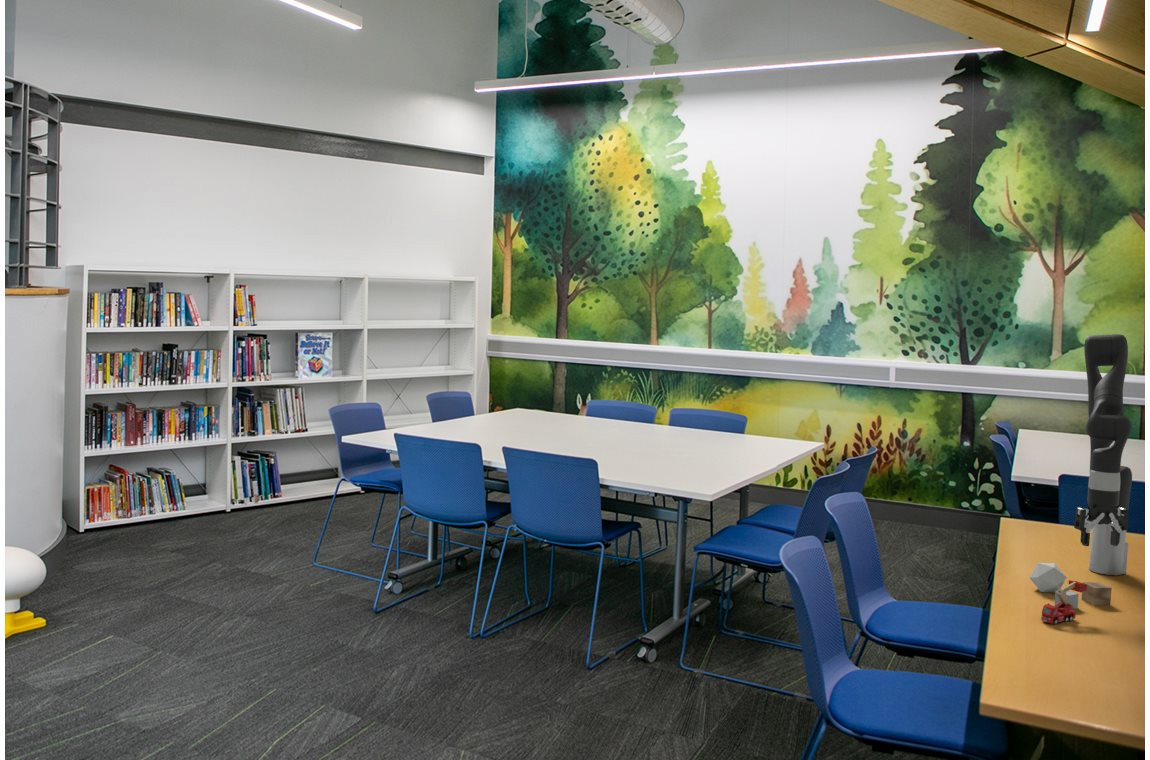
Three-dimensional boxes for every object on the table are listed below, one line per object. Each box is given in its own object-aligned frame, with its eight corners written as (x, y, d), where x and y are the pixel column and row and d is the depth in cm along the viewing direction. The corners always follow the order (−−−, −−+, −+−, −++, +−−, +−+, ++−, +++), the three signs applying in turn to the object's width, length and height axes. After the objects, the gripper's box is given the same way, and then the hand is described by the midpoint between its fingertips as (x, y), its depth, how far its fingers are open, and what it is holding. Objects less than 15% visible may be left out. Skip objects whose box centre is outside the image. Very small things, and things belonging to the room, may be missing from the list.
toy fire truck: (1039, 621, 243) (1041, 584, 242) (1073, 614, 249) (1076, 578, 248) (1051, 625, 240) (1053, 588, 239) (1085, 618, 246) (1088, 582, 245)
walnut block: (1097, 599, 262) (1099, 582, 262) (1110, 605, 257) (1111, 587, 257) (1081, 599, 262) (1082, 582, 261) (1093, 605, 257) (1094, 587, 256)
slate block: (1063, 603, 258) (1064, 589, 258) (1077, 608, 254) (1078, 593, 254) (1054, 605, 256) (1055, 591, 256) (1068, 610, 252) (1069, 595, 252)
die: (1062, 599, 263) (1076, 570, 266) (1034, 582, 264) (1048, 553, 267) (1047, 601, 271) (1061, 572, 273) (1020, 584, 272) (1034, 556, 275)
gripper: (1118, 484, 261) (1113, 541, 263) (1071, 484, 260) (1066, 542, 261) (1137, 490, 254) (1133, 549, 255) (1089, 490, 252) (1084, 549, 254)
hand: (1099, 545), depth 258 cm, fingers open, 8 cm apart
